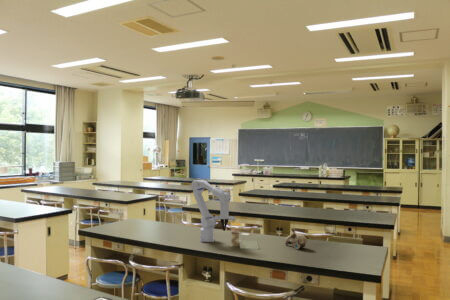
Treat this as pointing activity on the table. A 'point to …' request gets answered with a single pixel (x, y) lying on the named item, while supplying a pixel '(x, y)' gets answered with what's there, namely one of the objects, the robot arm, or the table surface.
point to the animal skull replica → (296, 240)
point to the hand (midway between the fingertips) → (224, 230)
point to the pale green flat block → (248, 244)
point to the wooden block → (234, 237)
